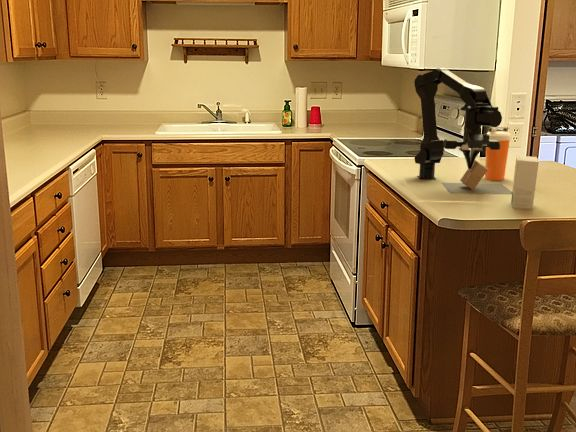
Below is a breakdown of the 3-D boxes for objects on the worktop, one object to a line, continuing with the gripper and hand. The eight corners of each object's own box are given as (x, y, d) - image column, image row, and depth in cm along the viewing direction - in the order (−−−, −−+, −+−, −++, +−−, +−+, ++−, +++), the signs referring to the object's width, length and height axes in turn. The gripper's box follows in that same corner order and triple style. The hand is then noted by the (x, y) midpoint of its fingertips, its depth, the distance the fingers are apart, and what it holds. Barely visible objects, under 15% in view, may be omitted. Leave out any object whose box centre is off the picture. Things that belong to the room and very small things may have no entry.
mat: (441, 183, 239) (441, 182, 239) (501, 184, 238) (501, 183, 238) (450, 194, 222) (450, 193, 222) (515, 195, 221) (515, 194, 220)
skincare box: (510, 202, 211) (515, 155, 207) (532, 204, 209) (537, 156, 205) (511, 208, 203) (516, 159, 199) (534, 210, 201) (539, 160, 197)
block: (459, 180, 233) (474, 159, 231) (468, 186, 233) (483, 165, 231) (463, 184, 226) (479, 162, 224) (473, 190, 226) (488, 168, 224)
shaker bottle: (510, 181, 244) (515, 128, 239) (488, 182, 243) (493, 129, 238) (499, 177, 253) (504, 125, 248) (478, 177, 251) (482, 126, 246)
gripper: (449, 126, 217) (446, 172, 221) (506, 127, 216) (502, 173, 220) (444, 123, 228) (441, 166, 232) (497, 123, 227) (493, 167, 230)
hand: (469, 168), depth 228 cm, fingers closed
